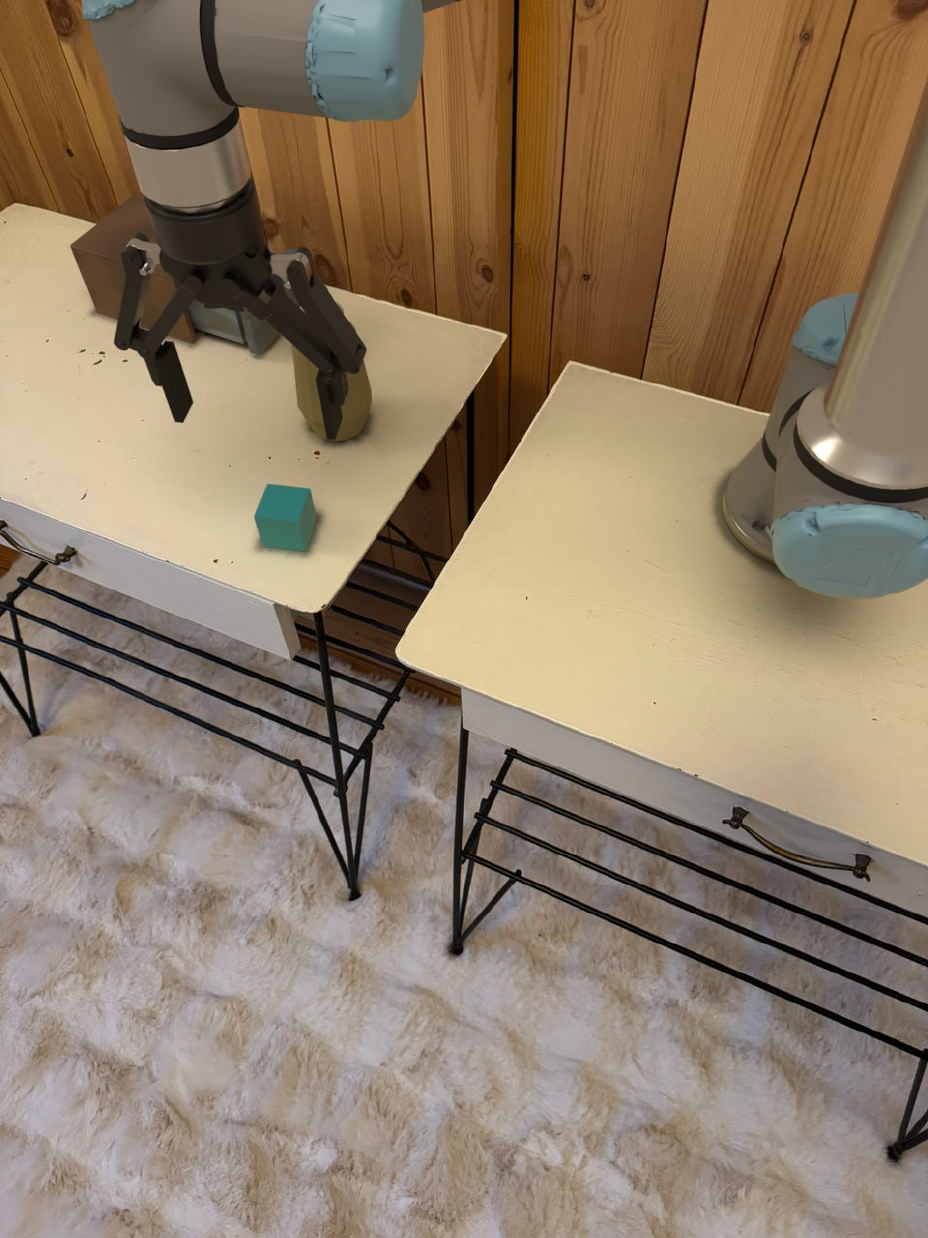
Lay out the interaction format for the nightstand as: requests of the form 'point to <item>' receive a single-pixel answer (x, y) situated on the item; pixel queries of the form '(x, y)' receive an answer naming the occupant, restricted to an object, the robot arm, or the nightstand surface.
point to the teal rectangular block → (286, 517)
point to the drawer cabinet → (106, 270)
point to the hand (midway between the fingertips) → (259, 420)
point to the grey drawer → (238, 321)
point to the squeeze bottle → (352, 409)
